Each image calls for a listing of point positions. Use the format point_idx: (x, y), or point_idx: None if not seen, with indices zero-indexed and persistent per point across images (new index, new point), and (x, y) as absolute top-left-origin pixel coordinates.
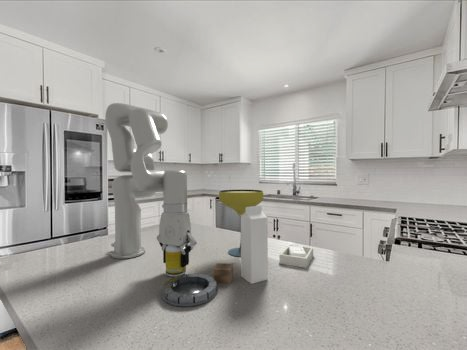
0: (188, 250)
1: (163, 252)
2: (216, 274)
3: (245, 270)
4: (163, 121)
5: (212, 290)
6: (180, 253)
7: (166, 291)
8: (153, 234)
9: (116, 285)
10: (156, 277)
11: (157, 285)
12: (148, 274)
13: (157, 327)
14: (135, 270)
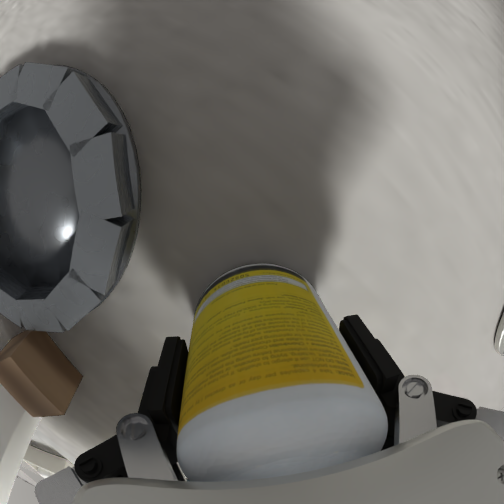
0: (97, 449)
1: (391, 366)
2: (15, 345)
3: (2, 393)
4: None
5: None
6: (180, 420)
7: (36, 71)
8: (495, 406)
9: (411, 48)
10: (320, 210)
11: (219, 133)
12: (390, 216)
13: (11, 8)
14: (464, 217)
